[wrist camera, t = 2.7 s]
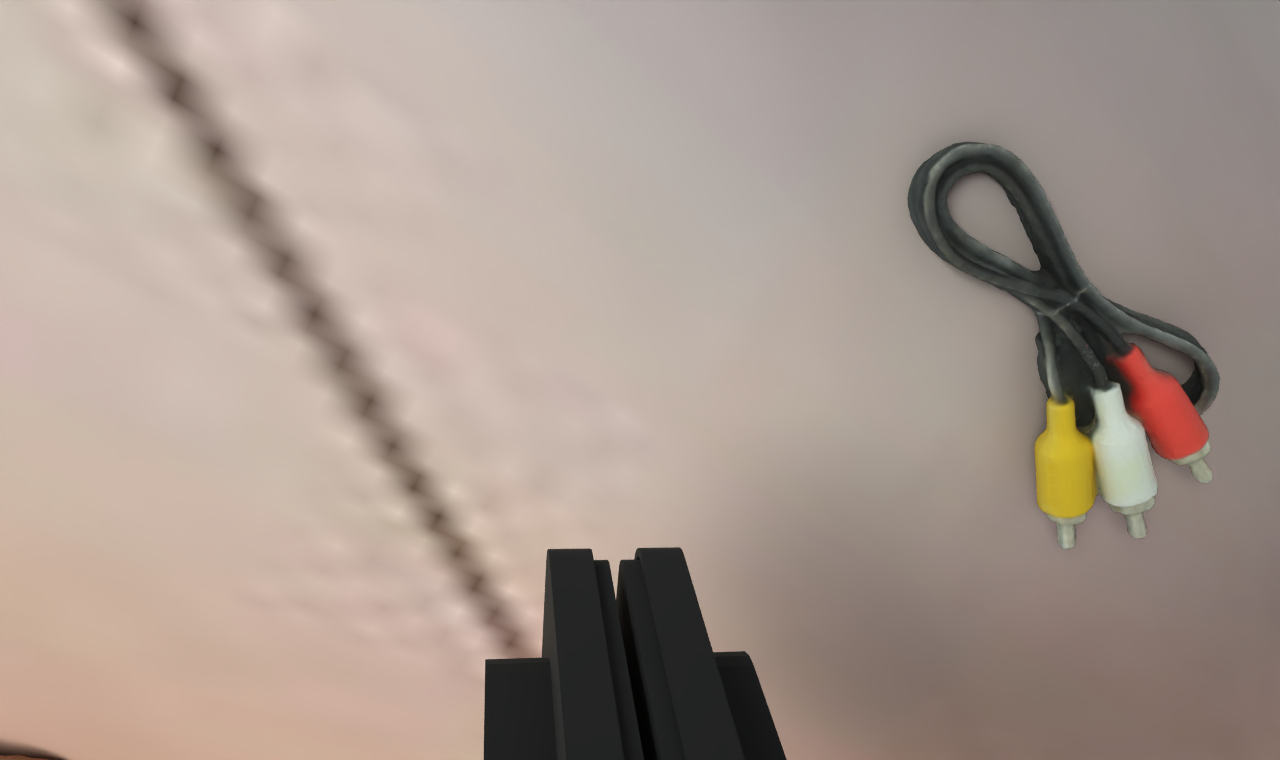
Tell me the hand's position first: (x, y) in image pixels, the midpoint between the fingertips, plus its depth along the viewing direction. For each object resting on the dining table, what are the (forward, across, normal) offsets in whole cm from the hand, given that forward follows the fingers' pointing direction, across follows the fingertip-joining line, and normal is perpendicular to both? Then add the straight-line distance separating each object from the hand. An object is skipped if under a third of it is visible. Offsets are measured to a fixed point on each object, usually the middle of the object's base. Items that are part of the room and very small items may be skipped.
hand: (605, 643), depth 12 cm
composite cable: (+8, -11, -2) cm, 14 cm away
